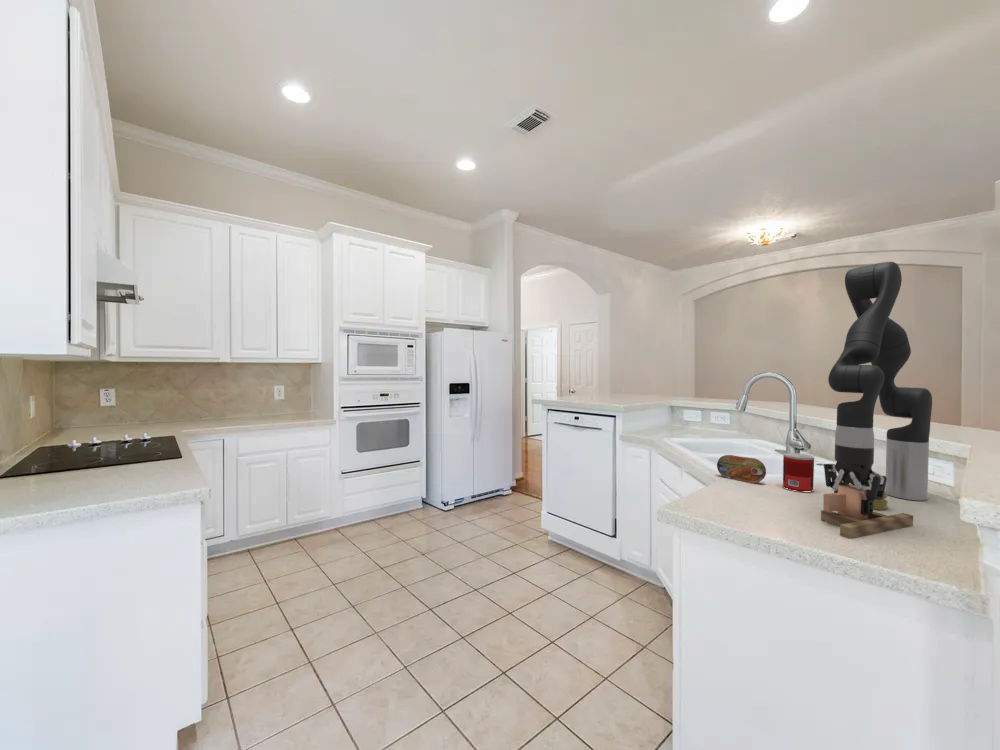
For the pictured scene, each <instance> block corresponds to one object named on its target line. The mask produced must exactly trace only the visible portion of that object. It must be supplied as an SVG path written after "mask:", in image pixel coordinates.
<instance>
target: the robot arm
mask: <svg viewBox="0 0 1000 750" xmlns="http://www.w3.org/2000/svg"><path fill="white" fill-rule="evenodd" d="M902 280H903V279H902V271H901V268H900V266H899V264H897V263H896V262H895V261H886V262H878V263H874V264H868V265H865V266H864V265H863V266H859V267H854V268H851V269H849V270H848V271H846V272H845V276H844V286H845V290H846V294H847V296H848V299H849V301H850V303H851V306H852V309H853V311H854V313H855V314H856V315H855V316H856V317H857V318H856V320H855V321H854V322H853V323H852V324H851V325H850V327H849V329H848V331H847V334H846V338H845V342H844V347H843V351H842V352H841V354H840V356H839V357H838V359H837V360H836V362H835V363H834V365H833V366H832V368H831V370H830V372H829V374H828V378H827V379H828V384H829V387H830V388H831V389H832V390H833V391H834V392H838V393H845V394H846V393H847V394H848V393H849V394H854V393H855V394H862V396H861V398H860V399H858V400H855V401H846V402H840V403H839V404H837V407H836V428H835V433H834V460H835V462H836V463H824V465H823V471H824V480H825V485H826V487H828V488H831V489H832V490H833V493H838V485H841V484H852V485H855V487H856V489H857V490H859V491H860V495H861V497H862V499H863V500H861V514H862V515H871V513H873V512H874V510H873V501H874V500H881V499H883V496H884V491H885V492H887V494H888V496H891V497H894V498H898V499H903V500H909V501H924V502H925V501H927V500H928V491H929V489H928V488H929V455H930V453H929V451H930V449H929V448H930V433H931V420H932V411H933V395H932V393H931V391H930V390H929V389H928V388H924V387H908V386H907V387H904V386H903V387H902V386H900V387H899V386H897V385H896V384H895V378H896V376H897V375H898V373H899V372H900V371H901V369H903V367H904V366H905V364H906V363H907V361H908V360H910V359H909V358H910V357H911V353H912V350H911V345H910V341H909V337H908V333H907V331H906V330H905V329H904V328H903V327H902V326H901V325H900V324H899V323H897V322H896V321H895V320H893V319H892V318H890V316H891V312H892V310H893V308H894V305H895V303H896V301H897V298H898V295H899V293H900V290H901V287H902ZM872 299H875V300H874V302H872ZM868 363H869V364H868ZM878 399H879V404H880V408H881V410H882V412H883V414H885V415H886V416H889V417H895V418H905V419H911V422H910V423H908V424H906V425H904V426H899V427H894V428H889V429H887V431H886V449H885V452H886V453H885V454H886V455H885V475H881V476H879V475H880V474H879V475H876V474H874V473H873V471H874V470H873V468H872V467H873V465H874V463H875V462H874V461H875V460H874V459H875V458H874V457H875V456H874V455H875V432H874V413H875V412H874V411H875V407H876V404H877V400H878ZM870 479H871V482H872V485H871V483H870ZM862 485H865V487H863V486H862ZM865 490H867V491H868V495H867V493H866V491H865Z"/></svg>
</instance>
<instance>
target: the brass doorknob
mask: <svg viewBox="0 0 1000 750" xmlns="http://www.w3.org/2000/svg"><path fill="white" fill-rule="evenodd" d="M872 471H873V473H874V474H876V475H879V476H882V475H881V474H879V473H876V471H874V470H872ZM870 483H871V485H872V482H871V479H870ZM862 486H863V487H865V485H862ZM888 496H889V495H888V494H887V492H885V491H884V496H883V499H881V500H874V501H873V509H874V510H873V511H876V510H877V511H885V510H887V509H888V500H887V498H888Z"/></svg>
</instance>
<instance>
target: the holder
mask: <svg viewBox="0 0 1000 750" xmlns="http://www.w3.org/2000/svg"><path fill="white" fill-rule="evenodd" d="M822 520H824V521H823V522H825V521H827V522H826V523H828V522H830V523H829V524H831V523H833V524H832V525H834V524H836V525H835V526H837V525H839V526H838V527H840V528H839V536H840V535H842V536H841V537H843V536H844V537H843V538H846V537H847V538H846V539H849V538H851V539H855V537H856V538H860V537H864V536H870V535H875V534H879V533H884V532H889V531H894V530H898V529H903V528H908V527H912V526H913V527H914V515H912V514H909V513H905V512H901V513H896V514H890V515H887V514H884V513H880V512H876V511H873V513H871V515H868V520H863V521H862V520H859V519H855V518H852V517H849V516H845V515H842V514H839V513H837V511H826V510H823V509H822V510H820V521H822Z"/></svg>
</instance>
